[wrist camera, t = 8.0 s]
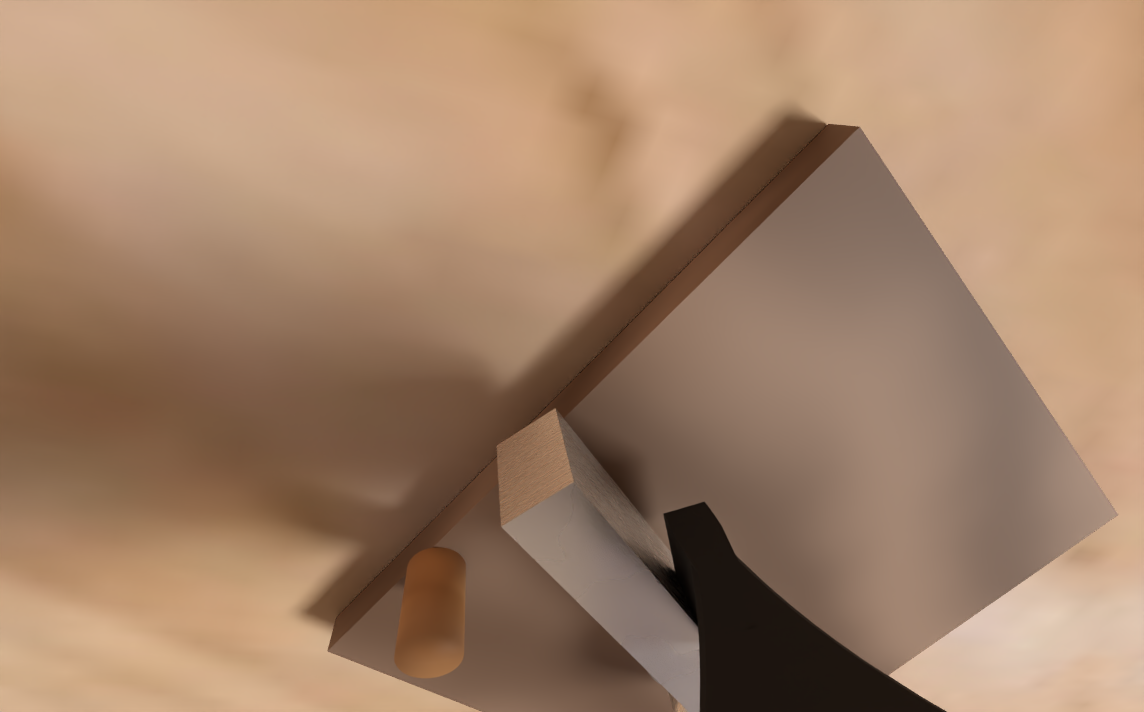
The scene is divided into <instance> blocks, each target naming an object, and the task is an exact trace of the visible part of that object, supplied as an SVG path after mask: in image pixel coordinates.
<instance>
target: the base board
mask: <svg viewBox="0 0 1144 712" xmlns="http://www.w3.org/2000/svg"><path fill="white" fill-rule="evenodd" d="M555 408H556V409H557V411H558V412H559V413H560V414H561V416H562V417H563V418H564V419H565V421H566V422H567V423H568V424H569V426H570V427H571V428H572V429H573V431H574V432H575V433H576V434H577V436H578V437H579V438H580V439H581V441H582V442H583V443H584V444H585V446H586V447H587V448H588V449H589V451H590V452H591V453H592V454H593V456H594V457H595V458H596V459H597V461H598V462H599V463H600V464H601V466H602V467H603V468H604V469H605V471H606V472H607V473H608V474H609V476H610V477H611V478H612V479H613V481H614V482H615V483H616V484H617V486H618V487H619V488H620V489H621V491H622V492H623V493H624V494H625V496H626V497H627V498H628V499H629V501H630V502H631V503H632V504H633V506H634V507H635V508H636V509H637V511H638V512H639V513H640V514H641V516H642V517H643V518H644V519H645V521H646V522H647V523H648V524H649V526H650V527H651V528H652V529H653V531H654V532H655V533H656V534H657V536H658V537H659V538H660V539H661V541H662V542H663V543H664V544H665V546H666V547H667V548H668V549H669V550H670V552H671V549H670V544H669V539H668V534H667V530H666V525H665V520H664V515H663V513H667V512H670V511H674V510H677V509H681V508H684V507H687V506H691V505H694V504H698V503H701V502H705V503H706V504H707V505H708V507H709V508H710V509H711V511H712V512H713V513H714V515H715V516H716V518H717V519H718V521H719V522H720V524H721V525H722V527H723V529H724V531H725V534H726V536H727V538H728V540H729V542H730V544H731V546H732V548H733V551H734V553H735V555H736V556H737V557H738V558H739V559H740V560H741V561H742V562H744V563H745V564H746V565H747V566H748V567H749V568H750V569H751V570H752V571H753V572H754V573H755V574H756V575H757V576H758V577H759V578H760V579H761V580H763V581H764V582H765V583H766V584H767V585H768V586H769V587H770V588H772V589H773V590H774V591H775V592H776V593H777V594H778V595H780V596H781V597H782V598H783V599H784V600H785V601H787V602H788V603H789V604H790V605H791V606H793V607H794V608H795V609H796V610H797V611H799V612H800V613H801V614H802V615H804V616H805V617H806V618H807V619H809V620H810V621H811V622H812V623H814V624H815V625H816V626H818V627H819V628H820V629H822V630H823V631H824V632H826V633H827V634H828V635H830V636H831V637H832V638H834V639H835V640H836V641H838V642H839V643H840V644H842V645H843V646H845V647H846V648H848V649H849V650H850V651H852V652H853V653H855V654H856V655H857V656H859V657H860V658H862V659H863V660H865V661H866V662H868V663H869V664H871V665H872V666H874V667H875V668H877V669H879V670H880V671H882V672H883V673H885V674H886V675H889V674H891V673H892V672H893V671H895V670H896V669H898V668H899V667H901V666H902V665H904V664H905V663H906V662H908V661H909V660H911V659H912V658H914V657H915V656H916V655H918V654H919V653H921V652H922V651H924V650H925V649H927V648H928V647H929V646H931V645H932V644H934V643H935V642H937V641H938V640H939V639H941V638H942V637H944V636H945V635H947V634H948V633H949V632H951V631H952V630H954V629H955V628H957V627H958V626H960V625H961V624H962V623H964V622H965V621H967V620H968V619H970V618H971V617H972V616H974V615H975V614H977V613H978V612H980V611H981V610H983V609H984V608H985V607H987V606H988V605H990V604H991V603H993V602H994V601H995V600H997V599H998V598H1000V597H1001V596H1003V595H1004V594H1006V593H1007V592H1008V591H1010V590H1011V589H1013V588H1014V587H1016V586H1017V585H1018V584H1020V583H1021V582H1023V581H1024V580H1026V579H1027V578H1028V577H1030V576H1031V575H1033V574H1034V573H1036V572H1037V571H1039V570H1040V569H1041V568H1043V567H1044V566H1046V565H1047V564H1049V563H1050V562H1051V561H1053V560H1054V559H1056V558H1057V557H1059V556H1060V555H1062V554H1063V553H1064V552H1066V551H1067V550H1069V549H1070V548H1072V547H1073V546H1074V545H1076V544H1077V543H1079V542H1080V541H1082V540H1083V539H1084V538H1086V537H1087V536H1089V535H1090V534H1092V533H1093V532H1095V531H1096V530H1097V529H1099V528H1100V527H1102V526H1103V525H1105V524H1106V523H1107V522H1109V521H1110V520H1112V519H1113V518H1115V517H1116V516H1118V514H1117V512H1116V511H1115V509H1114V508H1113V506H1112V505H1111V503H1110V502H1109V500H1108V499H1107V497H1106V496H1105V494H1104V493H1103V491H1102V490H1101V488H1100V487H1099V485H1098V484H1097V482H1096V481H1095V479H1094V478H1093V476H1092V475H1091V473H1090V472H1089V470H1088V469H1087V467H1086V466H1085V464H1084V463H1083V461H1082V460H1081V458H1080V457H1079V455H1078V454H1077V452H1076V451H1075V449H1074V448H1073V446H1072V445H1071V443H1070V442H1069V440H1068V439H1067V437H1066V436H1065V434H1064V433H1063V431H1062V430H1061V428H1060V427H1059V425H1058V424H1057V422H1056V421H1055V419H1054V418H1053V416H1052V415H1051V413H1050V412H1049V410H1048V409H1047V407H1046V406H1045V404H1044V403H1043V401H1042V400H1041V398H1040V397H1039V395H1038V394H1037V392H1036V391H1035V389H1034V388H1033V386H1032V385H1031V383H1030V382H1029V380H1028V379H1027V377H1026V376H1025V374H1024V373H1023V371H1022V370H1021V368H1020V367H1019V365H1018V364H1017V362H1016V360H1015V359H1014V357H1013V356H1012V354H1011V353H1010V351H1009V350H1008V348H1007V347H1006V345H1005V344H1004V342H1003V341H1002V339H1001V338H1000V336H999V335H998V333H997V332H996V330H995V329H994V327H993V326H992V324H991V323H990V321H989V320H988V318H987V317H986V315H985V314H984V312H983V311H982V309H981V308H980V306H979V305H978V303H977V302H976V300H975V299H974V297H973V296H972V294H971V293H970V291H969V290H968V288H967V287H966V285H965V284H964V282H963V281H962V279H961V278H960V276H959V275H958V273H957V272H956V270H955V269H954V267H953V266H952V264H951V263H950V261H949V260H948V258H947V257H946V255H945V254H944V252H943V251H942V249H941V248H940V246H939V245H938V243H937V242H936V240H935V239H934V237H933V236H932V234H931V233H930V231H929V230H928V228H927V227H926V225H925V224H924V222H923V221H922V219H921V218H920V216H919V215H918V213H917V212H916V210H915V209H914V207H913V206H912V204H911V203H910V201H909V200H908V198H907V197H906V195H905V194H904V192H903V191H902V189H901V188H900V186H899V185H898V183H897V182H896V180H895V179H894V177H893V176H892V174H891V173H890V171H889V170H888V168H887V167H886V165H885V164H884V162H883V161H882V159H881V158H880V156H879V155H878V153H877V152H876V150H875V149H874V147H873V146H872V144H871V143H870V141H869V140H868V138H867V137H866V135H865V134H864V132H863V131H862V129H861V128H860V127H856V126H845V125H834V124H828V125H827V126H826V127H825V128H824V129H823V130H822V131H821V132H820V133H819V134H818V135H817V136H816V137H815V138H814V139H813V140H812V141H811V142H810V143H809V144H808V145H807V146H806V147H805V148H804V149H803V150H802V151H801V152H800V153H799V154H798V155H797V156H796V157H795V158H794V159H793V160H792V161H791V162H790V163H789V164H788V165H787V166H786V167H785V168H784V169H783V170H782V171H781V172H780V173H779V174H778V175H777V176H776V177H775V178H774V179H773V180H772V181H771V182H770V183H769V184H768V185H767V186H766V187H765V188H764V189H763V190H762V191H761V192H760V193H759V194H758V195H757V196H756V197H755V198H754V199H753V200H752V201H751V202H750V203H749V204H748V205H747V206H746V207H745V208H744V209H743V210H742V211H741V212H740V213H739V214H738V215H737V216H736V217H735V218H734V219H733V220H732V221H731V222H730V223H729V224H728V225H727V226H726V227H725V228H724V229H723V230H722V231H721V232H720V233H719V234H718V235H717V236H716V237H715V238H714V239H713V240H712V241H711V243H710V244H709V245H708V246H707V247H706V248H705V249H704V250H703V251H702V252H701V253H700V254H699V255H698V256H697V257H696V258H695V259H694V260H693V261H692V262H691V263H690V264H689V265H688V266H687V267H686V268H685V269H684V270H683V271H682V272H681V273H680V274H679V275H678V276H677V277H676V278H675V279H674V280H673V281H672V282H671V283H670V284H669V285H668V286H667V287H666V288H665V289H664V290H663V291H662V292H661V293H660V294H659V295H658V296H657V297H656V298H655V299H654V300H653V301H652V302H651V303H650V304H649V305H648V306H647V307H646V308H645V309H644V310H643V311H642V312H641V313H640V314H639V315H638V316H637V317H636V318H635V319H634V320H633V321H632V322H631V323H630V324H629V325H628V326H627V327H626V328H625V329H624V330H623V331H622V332H621V333H620V334H619V335H618V336H617V337H616V338H615V339H614V340H613V341H612V342H611V343H610V344H609V345H608V346H607V347H606V348H605V349H604V350H603V351H602V352H601V353H600V354H599V355H598V356H597V357H596V358H595V359H594V360H593V361H592V362H591V363H590V364H589V365H588V366H587V367H586V368H585V369H584V370H583V371H582V372H581V373H580V374H579V375H578V376H577V377H576V378H575V379H574V380H573V381H572V382H571V383H570V384H569V385H568V386H567V387H566V388H565V389H564V390H563V391H562V392H561V393H560V394H559V395H558V396H557V397H556V398H555V399H554V400H553V401H552V402H551V403H550V404H549V405H548V406H547V407H546V408H545V409H544V410H543V411H542V412H541V413H540V414H539V415H538V416H537V417H536V418H535V419H534V420H533V421H532V422H531V423H533V422H534V421H536V420H537V419H539V418H541V417H542V416H544V415H545V414H547V413H548V412H550V411H552V410H553V409H555ZM531 423H530V424H531ZM530 424H529V425H530ZM328 652H331V653H333V654H336V655H338V656H341V657H343V658H346V659H349V660H351V661H354V662H356V663H359V664H361V665H364V666H367V667H369V668H372V669H374V670H377V671H379V672H382V673H384V674H387V675H390V676H392V677H395V678H397V679H400V680H402V681H405V682H408V683H410V684H413V685H415V686H418V687H420V688H423V689H425V690H428V691H431V692H433V693H436V694H438V695H441V696H443V697H446V698H449V699H451V700H454V701H456V702H459V703H461V704H464V705H466V706H469V707H472V708H474V709H477V710H479V711H482V712H674V711H673V708H672V704H671V701H670V698H669V695H668V692H667V690H666V689H665V688H664V687H663V686H662V685H661V684H660V683H659V682H658V681H657V680H656V679H655V678H654V677H653V676H652V675H651V674H650V673H649V672H648V671H647V670H646V669H645V668H644V667H643V666H642V665H641V664H640V663H639V662H638V661H637V660H636V659H635V658H634V657H633V656H632V655H631V654H630V653H629V652H628V651H627V650H626V649H625V648H624V647H623V646H622V645H621V644H619V643H618V642H617V641H616V640H615V639H614V638H613V637H612V636H611V635H610V634H609V633H608V632H607V631H606V630H605V629H604V628H603V627H602V626H601V625H600V624H599V623H598V622H597V621H596V620H595V619H594V618H593V617H592V616H591V615H590V614H589V613H588V612H587V611H586V610H585V609H584V608H583V607H582V606H581V605H580V604H579V603H578V602H577V601H576V600H575V599H574V598H573V597H572V596H571V595H570V594H569V593H568V592H567V591H566V590H565V589H564V588H563V587H562V586H561V585H560V584H559V583H558V582H557V581H556V580H555V579H554V578H553V577H552V576H551V575H550V574H548V573H547V572H546V571H545V570H544V569H543V568H542V567H541V566H540V565H539V564H538V563H537V562H536V561H535V560H534V559H533V558H532V557H531V556H530V555H529V554H528V553H527V552H526V551H525V550H524V549H523V548H522V547H521V546H520V545H519V544H518V543H517V542H516V541H515V540H514V539H513V538H512V537H511V536H510V535H509V534H508V533H507V532H506V531H505V530H504V529H503V528H502V527H501V517H500V499H499V481H498V464H497V457H496V458H495V459H494V460H493V461H492V462H491V463H490V464H489V465H488V466H487V467H486V468H485V469H484V470H483V471H482V472H481V473H480V474H479V475H478V476H477V477H476V478H475V479H474V480H473V481H472V482H471V483H470V484H469V485H468V486H467V487H466V488H465V489H464V490H463V491H462V492H461V493H460V494H459V495H458V496H457V497H456V498H455V499H454V500H453V501H452V502H451V503H450V504H449V505H448V506H447V507H446V508H445V509H444V510H443V511H442V512H441V513H440V514H439V515H438V516H437V517H436V518H435V519H434V520H433V521H432V522H431V523H430V524H429V525H428V526H427V527H426V528H425V529H424V530H423V531H422V532H421V533H420V534H419V535H418V536H417V537H416V538H415V539H414V540H413V541H412V542H411V543H410V544H409V545H408V546H407V547H406V548H405V549H404V550H403V551H402V552H401V553H400V554H399V555H398V556H397V557H396V558H395V559H394V560H393V561H392V562H391V563H390V564H389V565H388V566H387V567H386V568H385V569H384V570H383V571H382V572H381V573H380V574H379V575H378V576H377V577H376V578H375V579H374V580H373V581H372V582H371V583H370V584H369V585H368V586H367V587H366V588H365V589H364V590H363V591H362V592H361V593H360V594H359V595H358V596H357V597H356V598H355V599H354V600H353V601H352V602H351V603H350V604H349V605H348V606H347V607H346V608H345V609H344V610H343V611H342V612H341V613H340V614H339V615H338V616H337V617H336V621H335V625H334V629H333V632H332V636H331V640H330V644H329V647H328Z"/></svg>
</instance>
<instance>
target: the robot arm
mask: <svg viewBox="0 0 1144 712" xmlns="http://www.w3.org/2000/svg"><path fill="white" fill-rule="evenodd" d="M663 515H664V520H665V525H666V530H667V534H668V539H669V544H670V549H671V554H672V559H673V564H674V569H675V572H676V574H677V577H678V579H679V582H680V584H681V587H682V589H683V592H684V594H685V597H686V599H687V601H688V604H689V606H690V608H691V611H692V613H693V615H694V617H695V619H696V621H697V623H698V632H699V656H700V712H946V711H945V710H943V709H941V708H940V707H938V706H936V705H934V704H933V703H931V702H929V701H928V700H926V699H924V698H922V697H921V696H919V695H918V694H916V693H914V692H913V691H911V690H910V689H908V688H907V687H905V686H903V685H902V684H900V683H899V682H897V681H896V680H894V679H893V678H891V677H889V676H888V675H886V674H885V673H883V672H882V671H880V670H879V669H877V668H875V667H874V666H872V665H871V664H869V663H868V662H866V661H865V660H863V659H862V658H860V657H859V656H857V655H856V654H855V653H853V652H852V651H850V650H849V649H848V648H846V647H845V646H843V645H842V644H840V643H839V642H838V641H836V640H835V639H834V638H832V637H831V636H830V635H828V634H827V633H826V632H824V631H823V630H822V629H820V628H819V627H818V626H816V625H815V624H814V623H812V622H811V621H810V620H809V619H807V618H806V617H805V616H804V615H802V614H801V613H800V612H799V611H797V610H796V609H795V608H794V607H793V606H791V605H790V604H789V603H788V602H787V601H785V600H784V599H783V598H782V597H781V596H780V595H778V594H777V593H776V592H775V591H774V590H773V589H772V588H770V587H769V586H768V585H767V584H766V583H765V582H764V581H763V580H761V579H760V578H759V577H758V576H757V575H756V574H755V573H754V572H753V571H752V570H751V569H750V568H749V567H748V566H747V565H746V564H745V563H744V562H742V561H741V560H740V559H739V558H738V557H737V556H736V555H735V553H734V551H733V548H732V546H731V544H730V542H729V540H728V538H727V536H726V534H725V531H724V529H723V527H722V525H721V524H720V522H719V521H718V519H717V518H716V516H715V515H714V513H713V512H712V511H711V509H710V508H709V507H708V505H707V504H706V503H705V502H701V503H698V504H694V505H691V506H687V507H684V508H681V509H677V510H674V511H670V512H667V513H663Z"/></svg>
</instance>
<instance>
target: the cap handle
mask: <svg viewBox="0 0 1144 712" xmlns="http://www.w3.org/2000/svg"><path fill="white" fill-rule="evenodd" d="M497 464H498V481H499V499H500V517H501V527H502V528H503V529H504V530H505V531H506V532H507V533H508V534H509V535H510V536H511V537H512V538H513V539H514V540H515V541H516V542H517V543H518V544H519V545H520V546H521V547H522V548H523V549H524V550H525V551H526V552H527V553H528V554H529V555H530V556H531V557H532V558H533V559H534V560H535V561H536V562H537V563H538V564H539V565H540V566H541V567H542V568H543V569H544V570H545V571H546V572H547V573H548V574H550V575H551V576H552V577H553V578H554V579H555V580H556V581H557V582H558V583H559V584H560V585H561V586H562V587H563V588H564V589H565V590H566V591H567V592H568V593H569V594H570V595H571V596H572V597H573V598H574V599H575V600H576V601H577V602H578V603H579V604H580V605H581V606H582V607H583V608H584V609H585V610H586V611H587V612H588V613H589V614H590V615H591V616H592V617H593V618H594V619H595V620H596V621H597V622H598V623H599V624H600V625H601V626H602V627H603V628H604V629H605V630H606V631H607V632H608V633H609V634H610V635H611V636H612V637H613V638H614V639H615V640H616V641H617V642H618V643H619V644H621V645H622V646H623V647H624V648H625V649H626V650H627V651H628V652H629V653H630V654H631V655H632V656H633V657H634V658H635V659H636V660H637V661H638V662H639V663H640V664H641V665H642V666H643V667H644V668H645V669H646V670H647V671H648V672H649V673H650V674H651V675H652V676H653V677H654V678H655V679H656V680H657V681H658V682H659V683H660V684H661V685H662V686H663V687H664V688H665V689H666V690H667V692H668V695H669V698H670V701H671V704H672V708H673V711H674V712H700V656H699V632H698V623H697V621H696V619H695V617H694V615H693V613H692V611H691V608H690V606H689V604H688V601H687V599H686V597H685V594H684V592H683V589H682V587H681V584H680V582H679V579H678V577H677V574H676V572H675V569H674V564H673V559H672V554H671V552H670V550H669V549H668V548H667V547H666V546H665V544H664V543H663V542H662V541H661V539H660V538H659V537H658V536H657V534H656V533H655V532H654V531H653V529H652V528H651V527H650V526H649V524H648V523H647V522H646V521H645V519H644V518H643V517H642V516H641V514H640V513H639V512H638V511H637V509H636V508H635V507H634V506H633V504H632V503H631V502H630V501H629V499H628V498H627V497H626V496H625V494H624V493H623V492H622V491H621V489H620V488H619V487H618V486H617V484H616V483H615V482H614V481H613V479H612V478H611V477H610V476H609V474H608V473H607V472H606V471H605V469H604V468H603V467H602V466H601V464H600V463H599V462H598V461H597V459H596V458H595V457H594V456H593V454H592V453H591V452H590V451H589V449H588V448H587V447H586V446H585V444H584V443H583V442H582V441H581V439H580V438H579V437H578V436H577V434H576V433H575V432H574V431H573V429H572V428H571V427H570V426H569V424H568V423H567V422H566V421H565V419H564V418H563V417H562V416H561V414H560V413H559V412H558V411H557V409H556V408H555V409H553V410H552V411H550V412H548V413H547V414H545V415H544V416H542V417H541V418H539V419H537V420H536V421H534V422H533V423H531V424H530V425H528V426H526V427H525V428H523V429H522V430H520V431H519V432H517V433H515V434H514V435H512V436H511V437H509V438H508V439H506V440H504V441H503V442H501V443H500V444H498V445H497Z"/></svg>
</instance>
